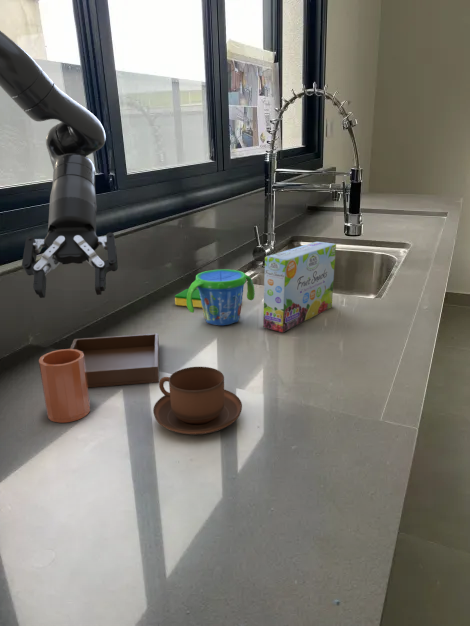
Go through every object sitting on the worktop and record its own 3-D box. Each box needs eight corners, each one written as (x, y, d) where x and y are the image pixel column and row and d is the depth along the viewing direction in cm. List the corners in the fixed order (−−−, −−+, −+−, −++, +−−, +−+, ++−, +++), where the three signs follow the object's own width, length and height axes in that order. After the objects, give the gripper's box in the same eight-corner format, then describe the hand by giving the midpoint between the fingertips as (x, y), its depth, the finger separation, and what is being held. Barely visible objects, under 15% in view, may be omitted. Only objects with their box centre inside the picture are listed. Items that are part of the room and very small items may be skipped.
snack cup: (197, 334, 99) (194, 285, 96) (179, 319, 108) (176, 274, 105) (265, 322, 105) (265, 275, 102) (243, 308, 114) (243, 265, 111)
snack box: (285, 334, 98) (286, 259, 94) (262, 328, 102) (262, 256, 97) (334, 307, 114) (337, 242, 110) (312, 303, 118) (314, 239, 113)
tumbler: (43, 424, 67) (34, 367, 65) (52, 404, 73) (44, 350, 70) (87, 420, 68) (80, 364, 65) (92, 400, 73) (86, 347, 71)
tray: (60, 389, 77) (57, 374, 76) (75, 352, 91) (74, 338, 90) (158, 382, 79) (157, 366, 78) (159, 346, 93) (158, 333, 92)
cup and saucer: (142, 440, 63) (138, 397, 61) (167, 396, 74) (164, 358, 72) (235, 446, 62) (234, 401, 60) (246, 399, 73) (246, 361, 71)
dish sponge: (188, 297, 124) (187, 287, 123) (239, 302, 119) (239, 292, 119) (174, 305, 118) (174, 295, 117) (228, 311, 113) (228, 300, 112)
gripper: (22, 196, 79) (14, 284, 72) (113, 193, 81) (114, 279, 74) (35, 225, 86) (28, 308, 79) (119, 222, 88) (120, 302, 80)
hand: (70, 293), depth 76 cm, fingers open, 8 cm apart
